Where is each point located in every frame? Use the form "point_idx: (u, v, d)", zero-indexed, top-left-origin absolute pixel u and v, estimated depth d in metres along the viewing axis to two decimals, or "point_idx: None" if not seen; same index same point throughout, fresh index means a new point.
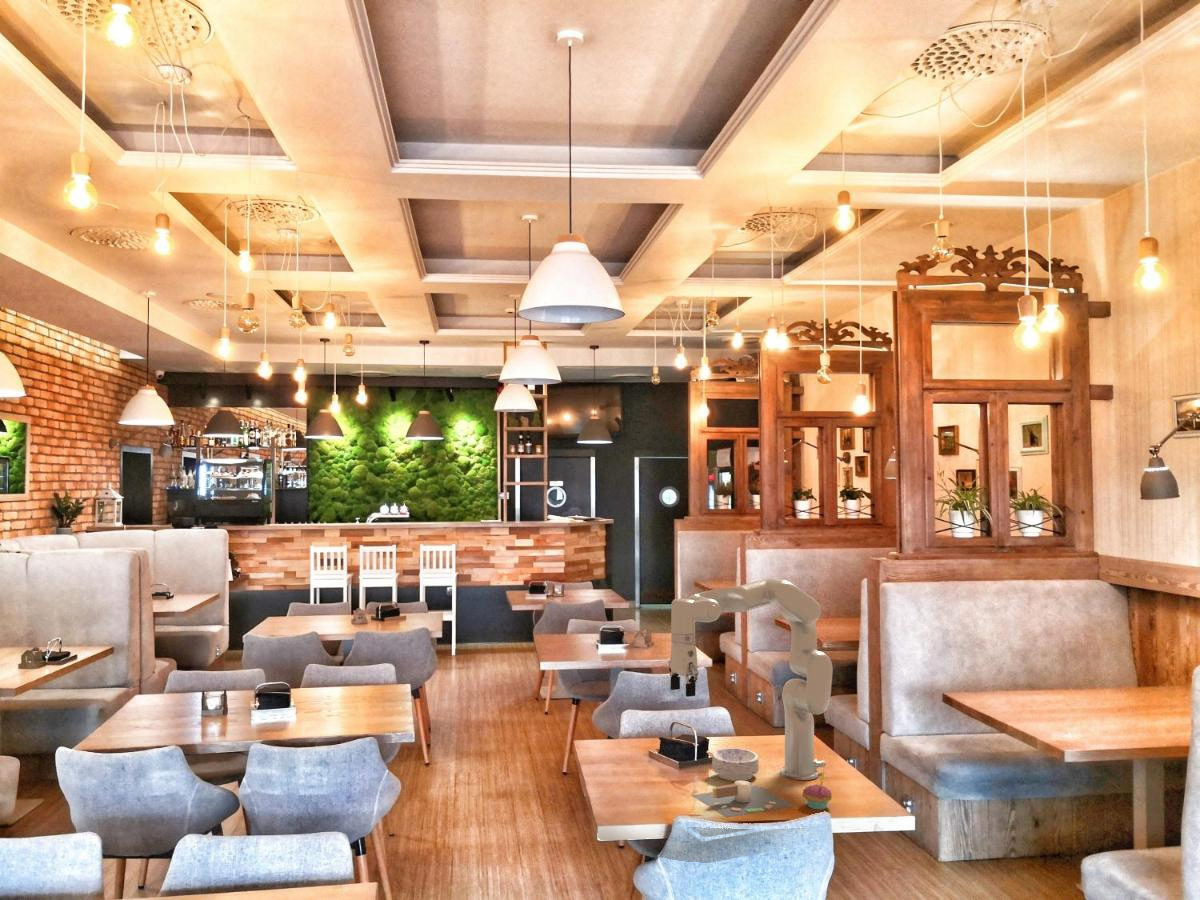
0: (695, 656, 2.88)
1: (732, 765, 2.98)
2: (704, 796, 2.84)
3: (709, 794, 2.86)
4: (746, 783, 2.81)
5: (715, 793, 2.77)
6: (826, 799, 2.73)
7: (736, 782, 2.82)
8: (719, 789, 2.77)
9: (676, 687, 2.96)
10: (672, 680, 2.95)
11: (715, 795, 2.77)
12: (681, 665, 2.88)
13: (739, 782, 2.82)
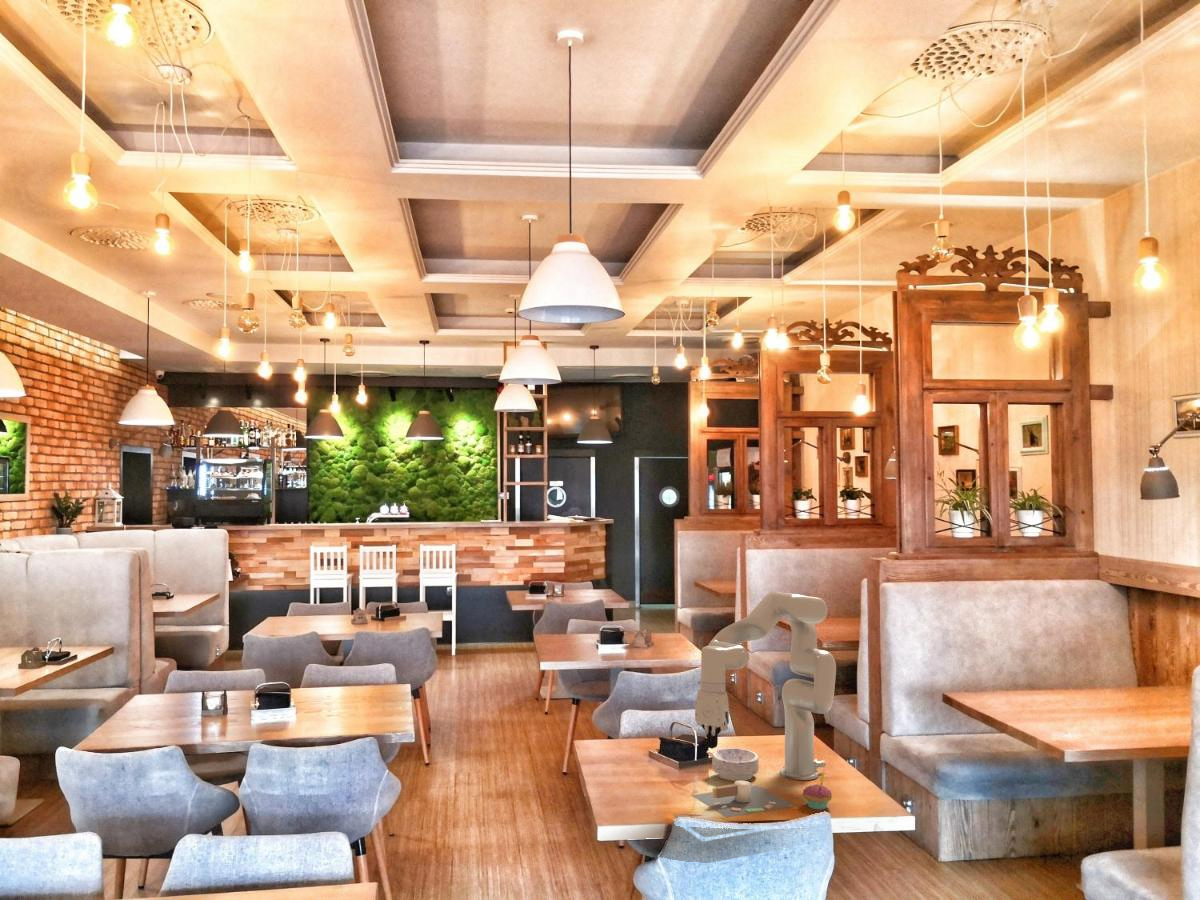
0: None
1: (732, 765, 2.98)
2: (704, 796, 2.84)
3: (709, 794, 2.86)
4: (746, 783, 2.81)
5: (715, 793, 2.77)
6: (826, 799, 2.73)
7: (736, 782, 2.82)
8: (719, 789, 2.77)
9: None
10: None
11: (715, 795, 2.77)
12: None
13: (739, 782, 2.82)
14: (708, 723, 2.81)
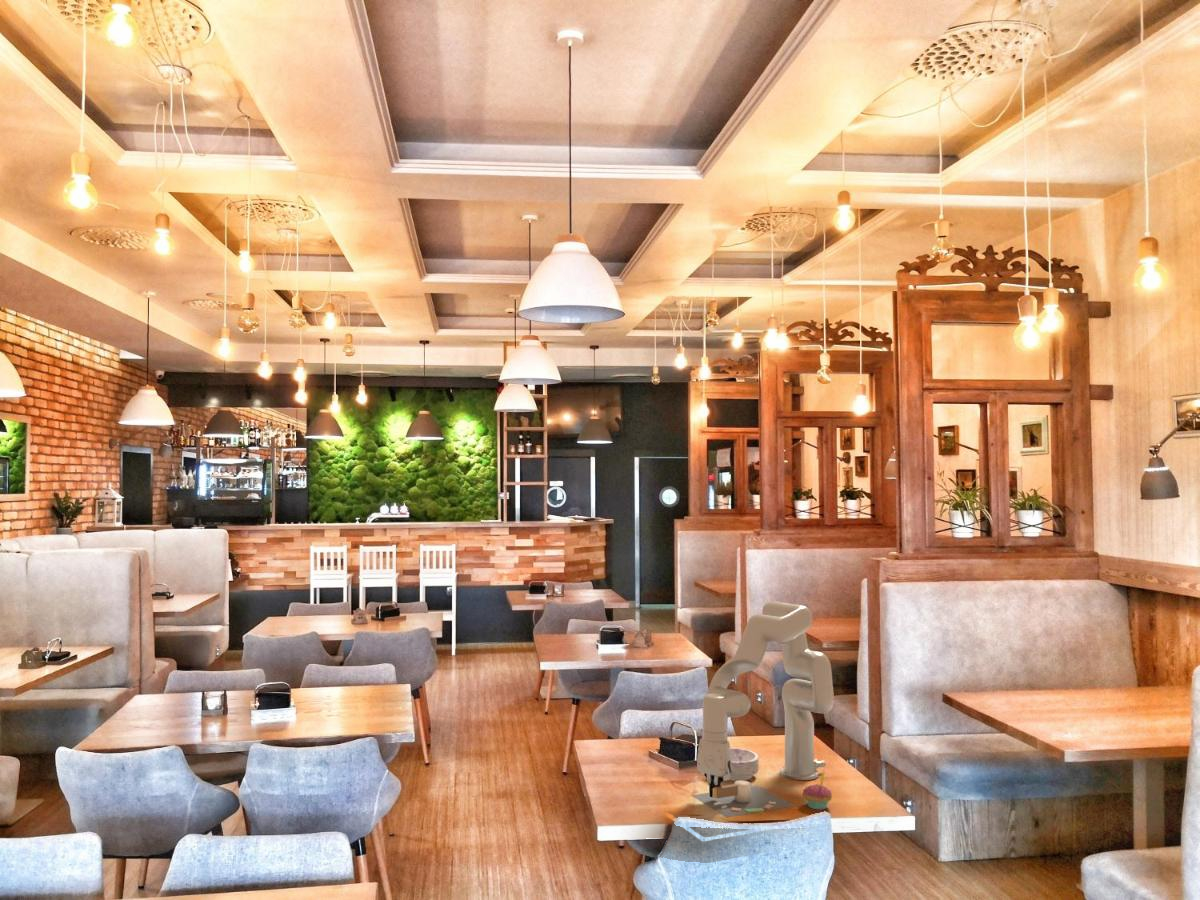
0: None
1: (732, 765, 2.98)
2: (704, 796, 2.84)
3: (709, 794, 2.86)
4: (746, 783, 2.81)
5: (715, 793, 2.77)
6: (826, 799, 2.73)
7: (736, 782, 2.82)
8: (719, 789, 2.77)
9: None
10: None
11: (715, 795, 2.77)
12: None
13: (739, 782, 2.82)
14: (710, 772, 2.79)
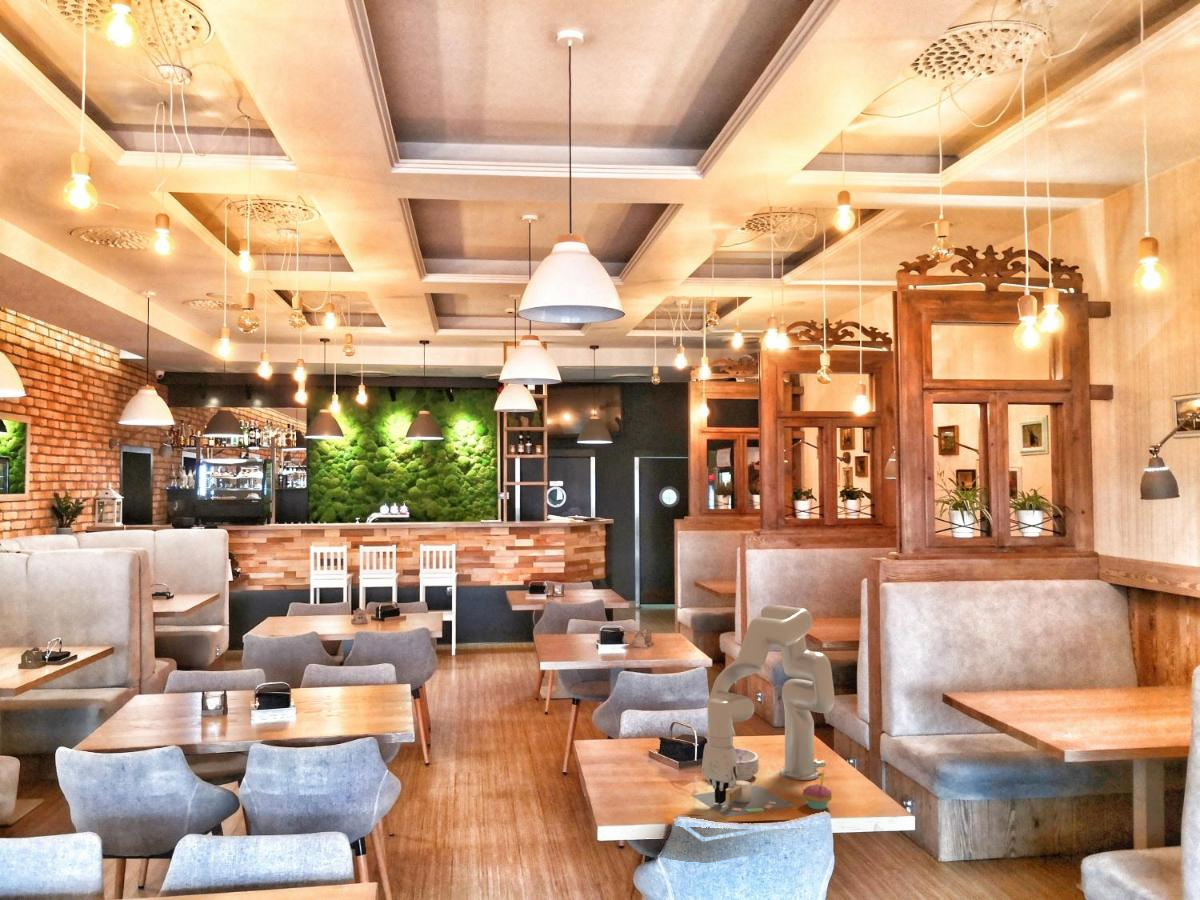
0: None
1: None
2: (704, 796, 2.84)
3: (709, 794, 2.86)
4: (745, 782, 2.82)
5: (729, 798, 2.73)
6: (826, 799, 2.73)
7: (736, 783, 2.81)
8: (732, 793, 2.73)
9: None
10: None
11: (729, 800, 2.73)
12: None
13: (739, 783, 2.81)
14: (716, 778, 2.74)
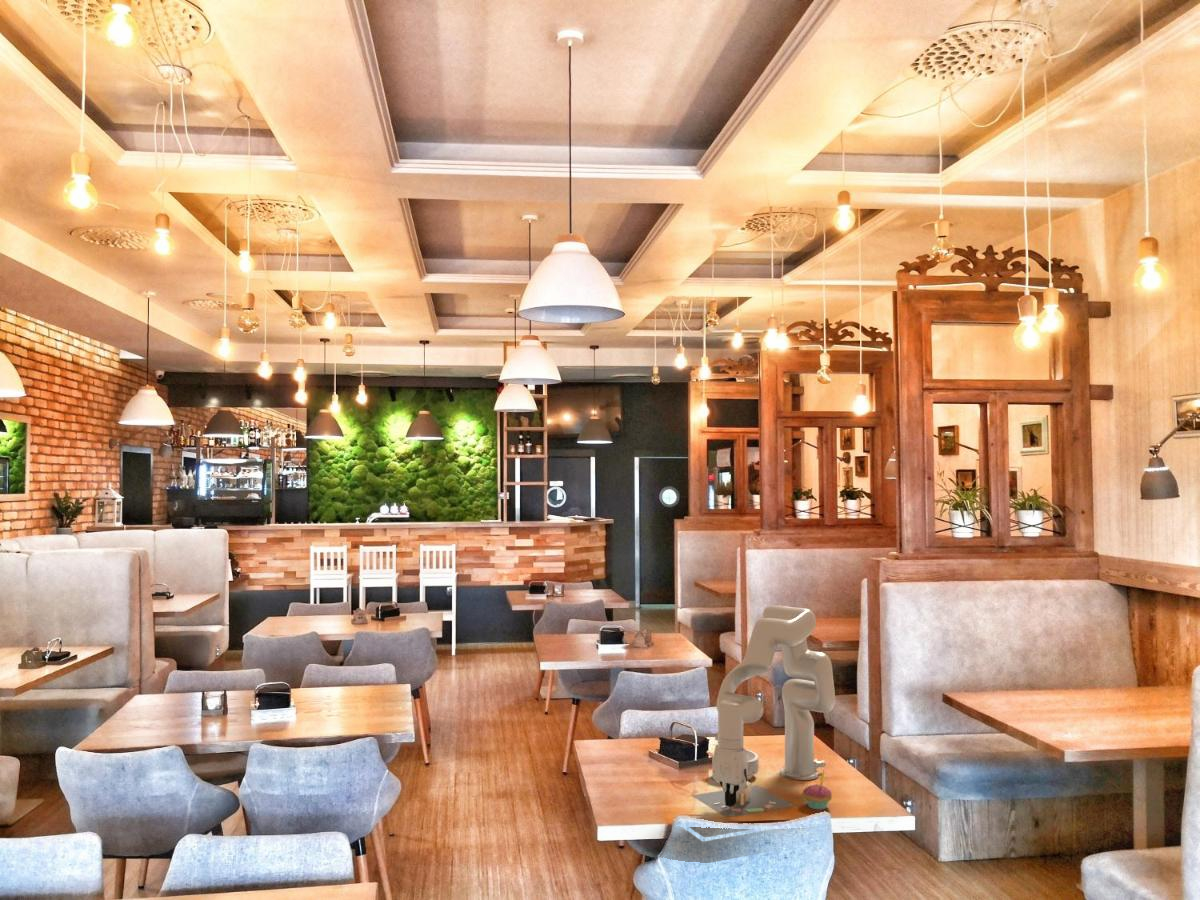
0: None
1: None
2: (704, 796, 2.84)
3: (709, 794, 2.86)
4: None
5: (743, 799, 2.71)
6: (826, 799, 2.73)
7: None
8: (745, 794, 2.72)
9: None
10: None
11: (743, 802, 2.71)
12: None
13: None
14: (726, 781, 2.72)
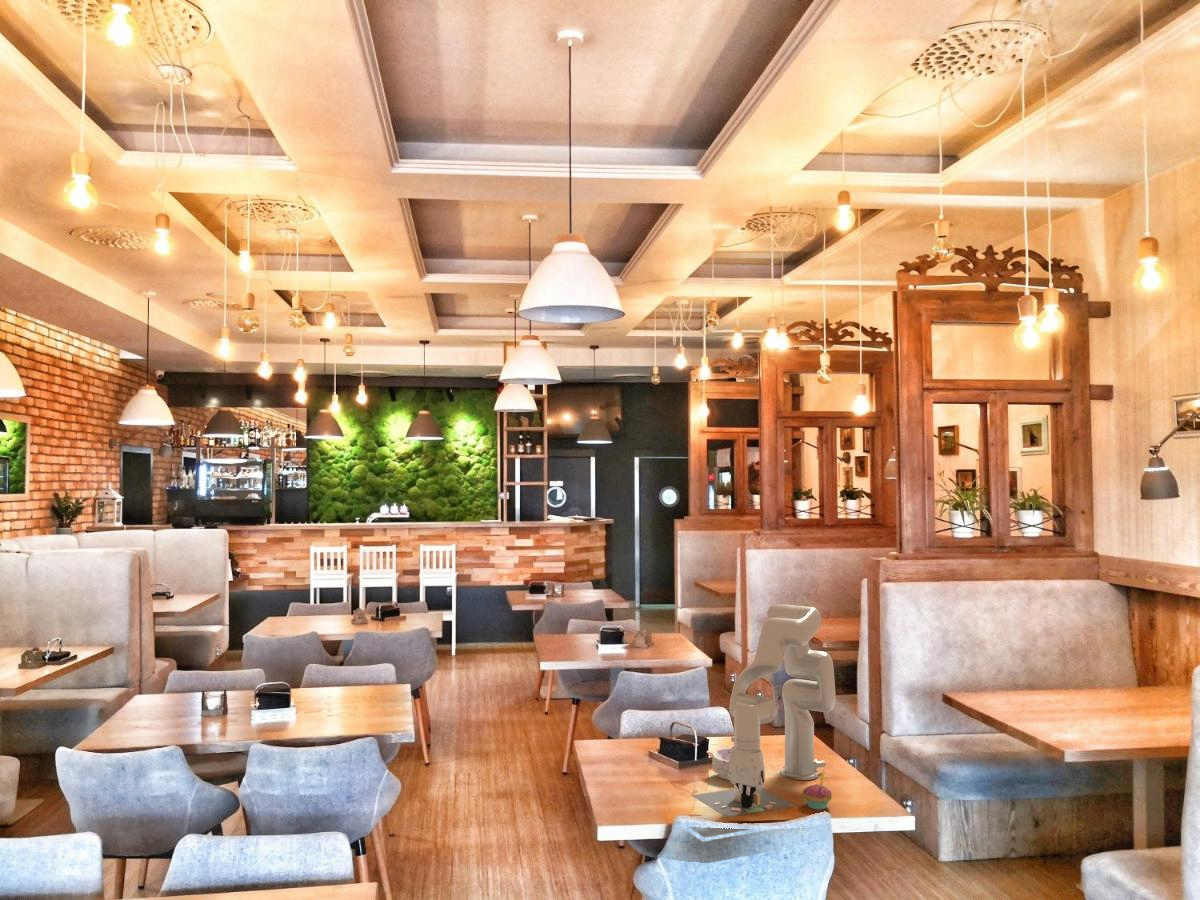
0: None
1: None
2: (704, 796, 2.84)
3: (709, 794, 2.86)
4: None
5: None
6: (826, 799, 2.73)
7: None
8: None
9: None
10: None
11: None
12: None
13: None
14: (743, 782, 2.70)
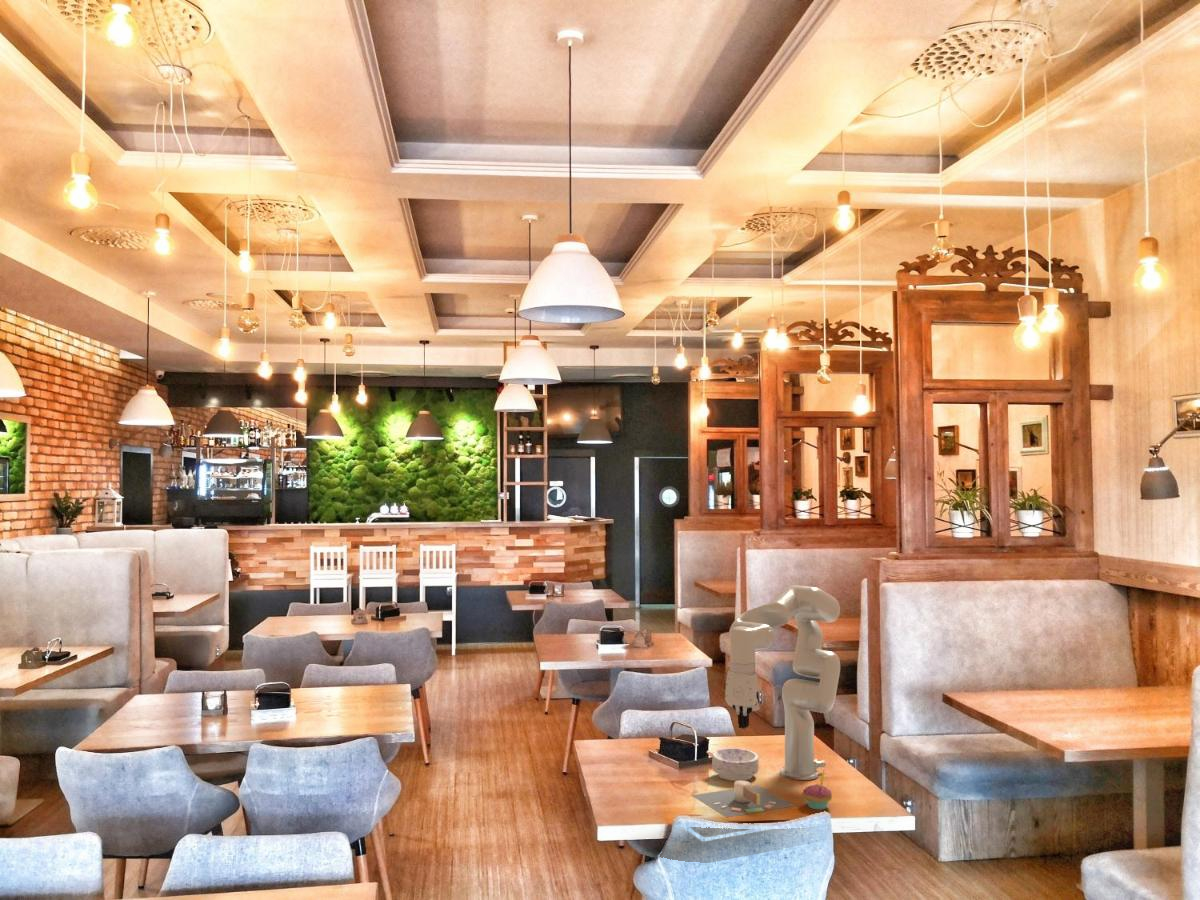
0: None
1: (732, 765, 2.98)
2: (704, 796, 2.84)
3: (709, 794, 2.86)
4: (743, 782, 2.82)
5: None
6: (826, 799, 2.73)
7: (740, 785, 2.79)
8: None
9: None
10: None
11: None
12: None
13: (740, 784, 2.80)
14: (739, 704, 2.81)
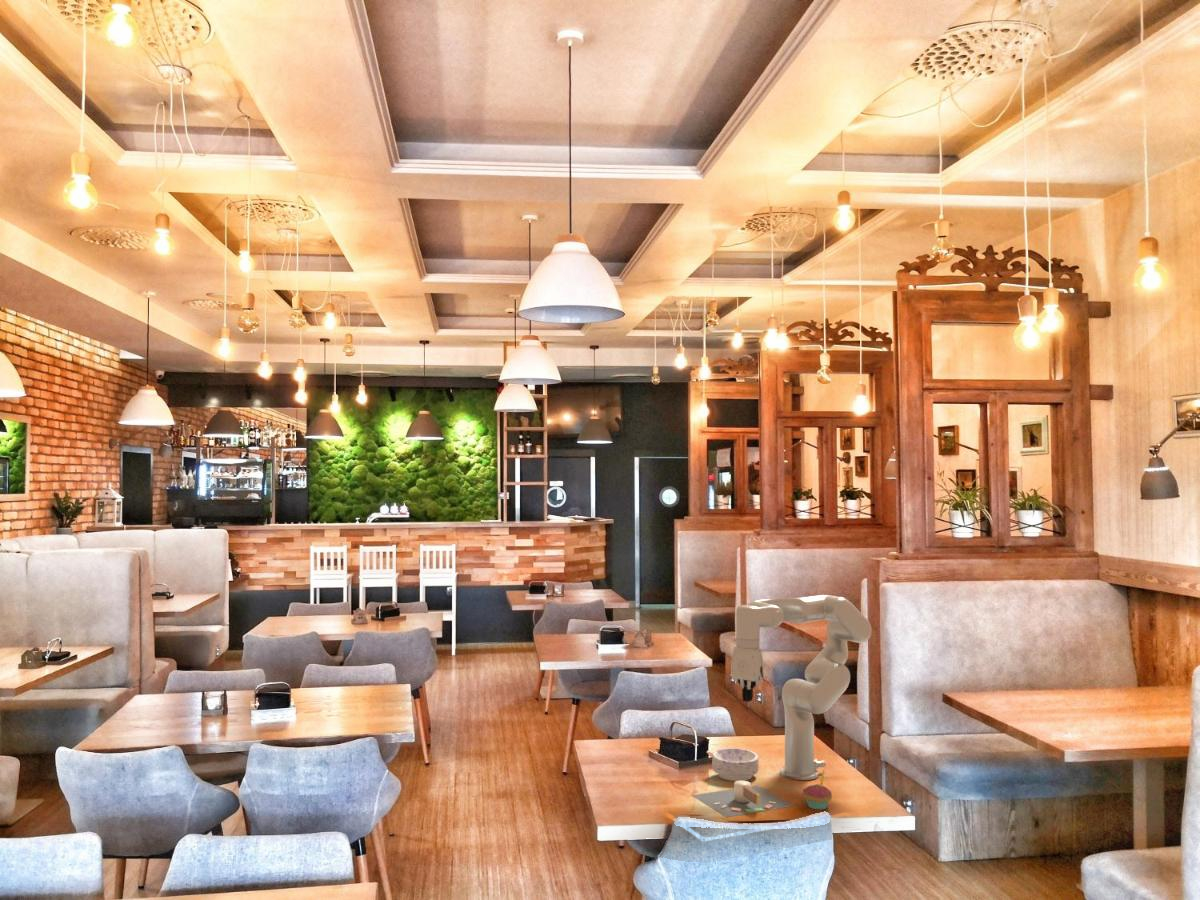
0: None
1: (732, 765, 2.98)
2: (704, 796, 2.84)
3: (709, 794, 2.86)
4: (743, 782, 2.82)
5: None
6: (826, 799, 2.73)
7: (740, 785, 2.79)
8: None
9: None
10: None
11: None
12: None
13: (740, 784, 2.80)
14: (744, 677, 2.97)
